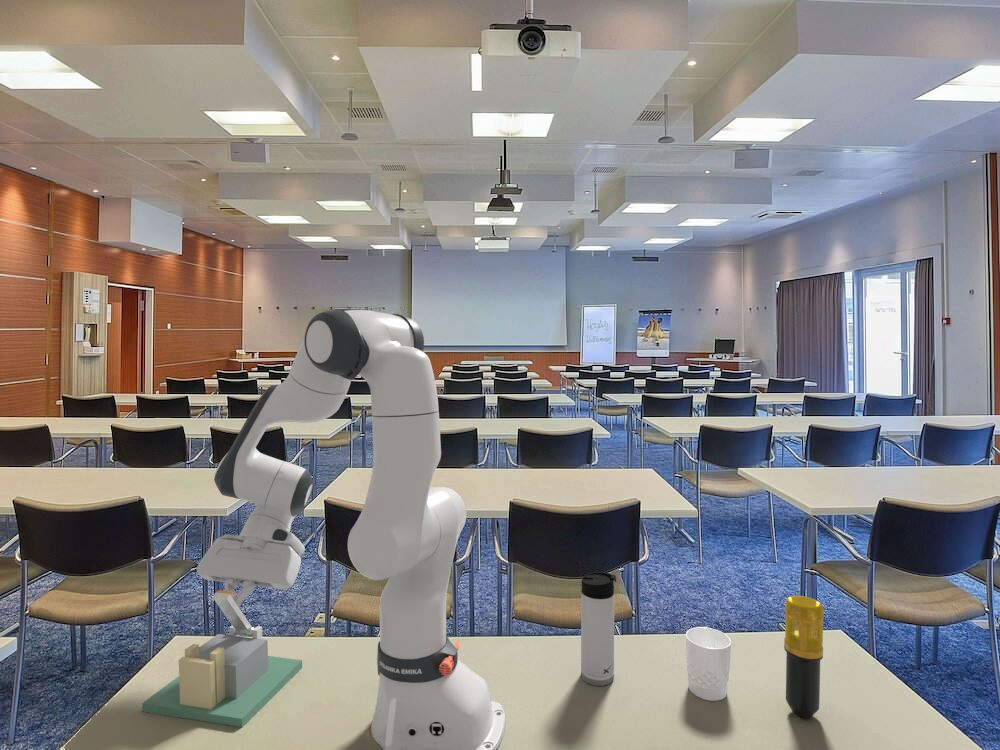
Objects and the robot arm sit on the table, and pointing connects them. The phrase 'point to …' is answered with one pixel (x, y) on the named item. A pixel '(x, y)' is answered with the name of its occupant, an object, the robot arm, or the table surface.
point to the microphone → (803, 654)
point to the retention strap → (233, 613)
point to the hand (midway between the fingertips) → (230, 605)
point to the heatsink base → (224, 680)
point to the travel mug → (597, 628)
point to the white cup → (708, 662)
